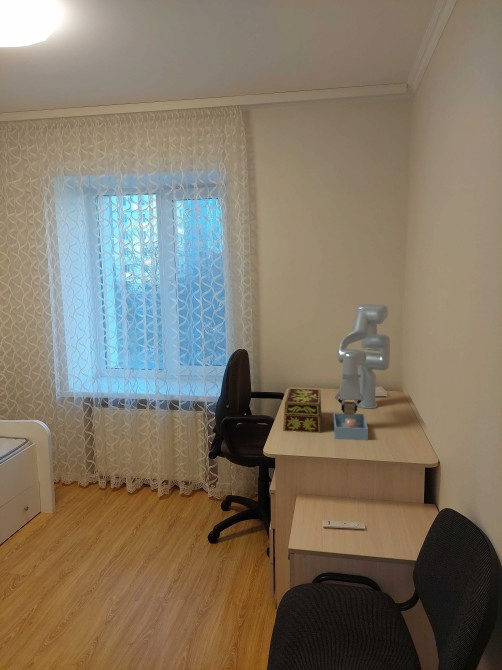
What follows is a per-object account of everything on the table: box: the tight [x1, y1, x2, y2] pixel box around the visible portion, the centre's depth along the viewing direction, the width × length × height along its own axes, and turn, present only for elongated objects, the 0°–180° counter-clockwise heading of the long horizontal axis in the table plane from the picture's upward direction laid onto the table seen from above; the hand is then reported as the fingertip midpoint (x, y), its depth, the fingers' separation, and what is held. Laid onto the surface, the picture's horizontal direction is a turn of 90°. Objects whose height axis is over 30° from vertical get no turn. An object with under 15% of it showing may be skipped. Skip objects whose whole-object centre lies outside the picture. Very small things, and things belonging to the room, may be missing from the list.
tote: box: [332, 412, 369, 441], centre depth 227 cm, size 21×15×6 cm
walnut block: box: [344, 401, 356, 415], centre depth 230 cm, size 5×5×5 cm
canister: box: [345, 418, 356, 428], centre depth 222 cm, size 5×5×7 cm
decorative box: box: [282, 388, 322, 434], centre depth 239 cm, size 28×19×15 cm
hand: (349, 411), depth 230 cm, fingers closed on walnut block, 5 cm apart
